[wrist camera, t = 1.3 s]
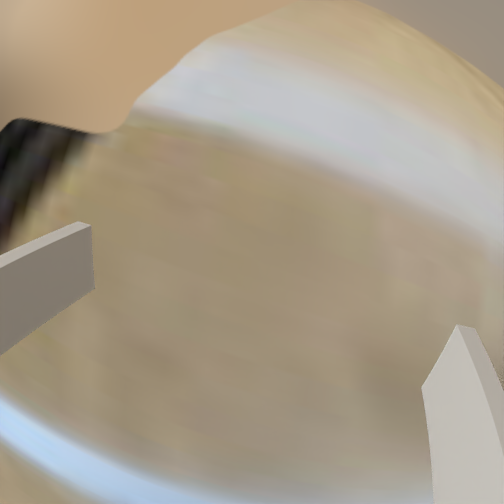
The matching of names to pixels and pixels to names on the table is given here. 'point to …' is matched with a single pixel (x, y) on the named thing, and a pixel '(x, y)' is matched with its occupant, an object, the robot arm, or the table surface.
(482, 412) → the robot arm
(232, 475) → the table surface
